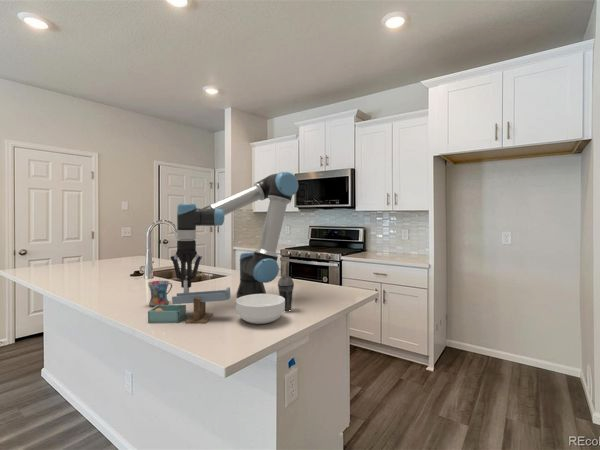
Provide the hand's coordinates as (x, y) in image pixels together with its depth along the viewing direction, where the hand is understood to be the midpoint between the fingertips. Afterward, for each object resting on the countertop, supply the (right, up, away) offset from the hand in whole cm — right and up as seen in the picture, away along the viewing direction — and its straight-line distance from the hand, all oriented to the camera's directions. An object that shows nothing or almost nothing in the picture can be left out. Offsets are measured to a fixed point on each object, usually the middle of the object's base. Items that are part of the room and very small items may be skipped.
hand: (186, 295), depth 140 cm
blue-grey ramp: (+9, -1, -3) cm, 9 cm away
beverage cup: (+42, -8, +6) cm, 44 cm away
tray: (-6, -8, -6) cm, 12 cm away
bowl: (+33, -9, -7) cm, 35 cm away
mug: (-17, -8, +15) cm, 24 cm away
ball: (-9, -6, -6) cm, 12 cm away
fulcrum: (+7, -9, -6) cm, 13 cm away
